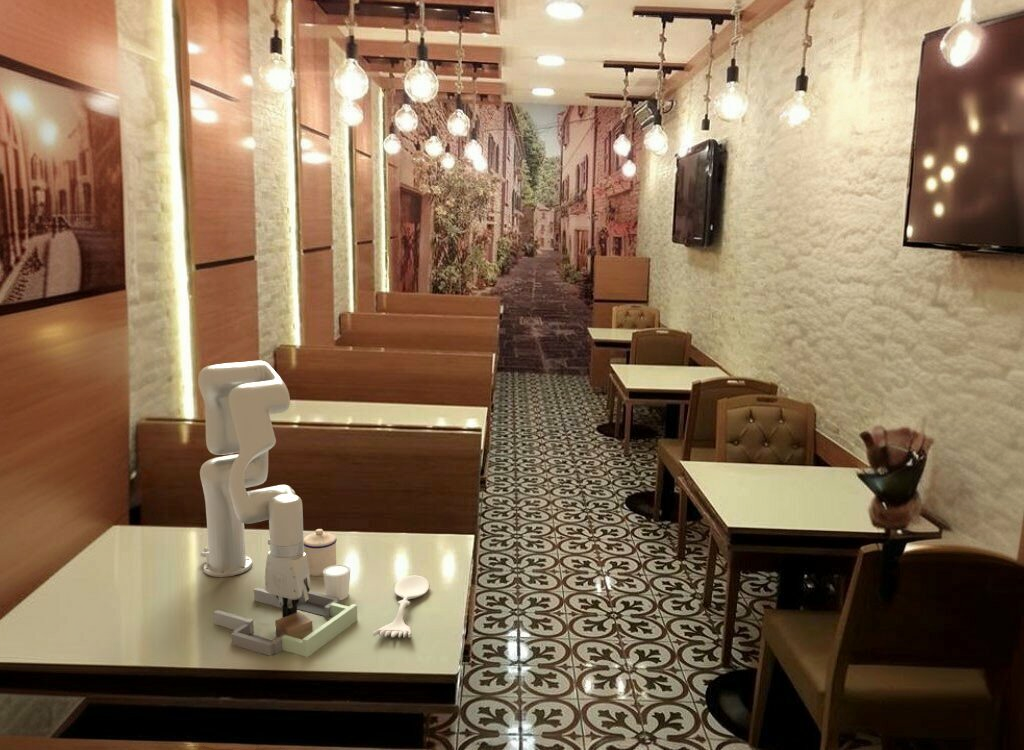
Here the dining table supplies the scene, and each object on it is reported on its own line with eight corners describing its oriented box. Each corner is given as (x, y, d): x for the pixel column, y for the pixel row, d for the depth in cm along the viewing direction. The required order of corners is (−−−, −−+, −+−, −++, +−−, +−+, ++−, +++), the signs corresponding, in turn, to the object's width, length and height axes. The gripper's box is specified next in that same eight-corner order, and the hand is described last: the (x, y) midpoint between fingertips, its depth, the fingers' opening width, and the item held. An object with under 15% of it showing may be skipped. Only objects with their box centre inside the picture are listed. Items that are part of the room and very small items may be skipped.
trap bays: (229, 643, 177) (229, 633, 177) (301, 597, 199) (301, 588, 199) (272, 656, 172) (271, 646, 171) (341, 608, 194) (341, 598, 194)
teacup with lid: (342, 564, 219) (341, 525, 217) (329, 578, 210) (328, 537, 208) (302, 560, 221) (301, 521, 219) (287, 574, 212) (286, 533, 210)
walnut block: (276, 636, 180) (275, 620, 180) (299, 627, 185) (298, 611, 184) (289, 646, 176) (288, 630, 176) (312, 636, 180) (312, 620, 180)
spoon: (371, 646, 177) (371, 632, 177) (398, 583, 209) (398, 571, 208) (411, 647, 177) (411, 633, 176) (432, 584, 208) (432, 572, 208)
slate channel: (208, 627, 184) (207, 611, 183) (263, 595, 200) (262, 580, 200) (307, 657, 172) (306, 640, 171) (357, 620, 188) (356, 604, 188)
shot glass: (344, 603, 197) (343, 577, 195) (319, 600, 198) (318, 574, 197) (355, 591, 203) (354, 565, 202) (330, 588, 205) (329, 563, 203)
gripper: (250, 547, 181) (254, 620, 185) (301, 559, 175) (304, 635, 179) (273, 536, 188) (276, 607, 191) (323, 547, 182) (325, 620, 185)
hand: (290, 620), depth 185 cm, fingers closed
